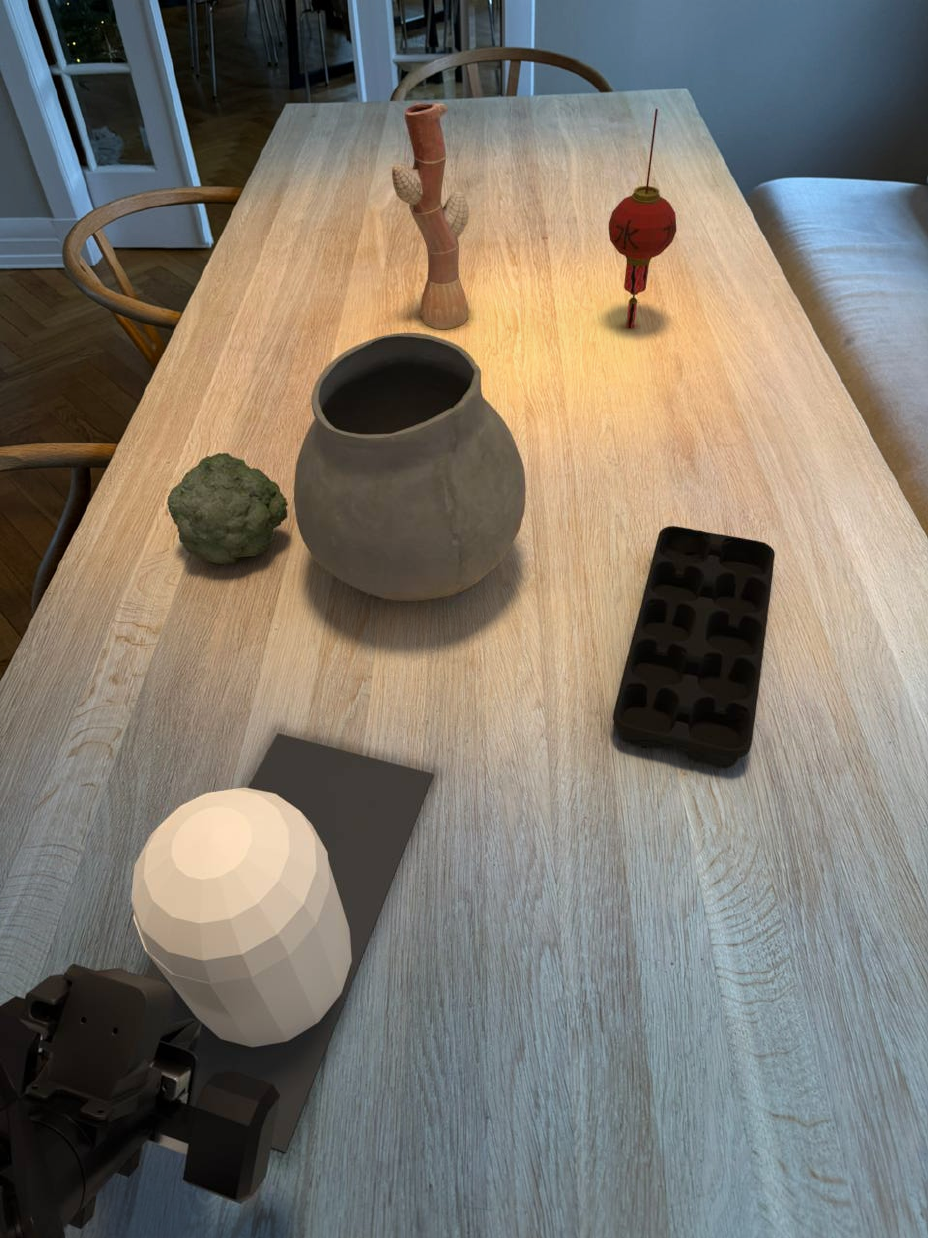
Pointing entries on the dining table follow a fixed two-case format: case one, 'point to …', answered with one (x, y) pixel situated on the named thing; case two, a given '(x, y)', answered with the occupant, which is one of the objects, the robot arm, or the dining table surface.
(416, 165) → the vase
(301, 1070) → the plate
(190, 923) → the container
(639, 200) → the lantern
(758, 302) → the dining table surface
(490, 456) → the ceramic pot
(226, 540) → the vegetable
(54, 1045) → the robot arm
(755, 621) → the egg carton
